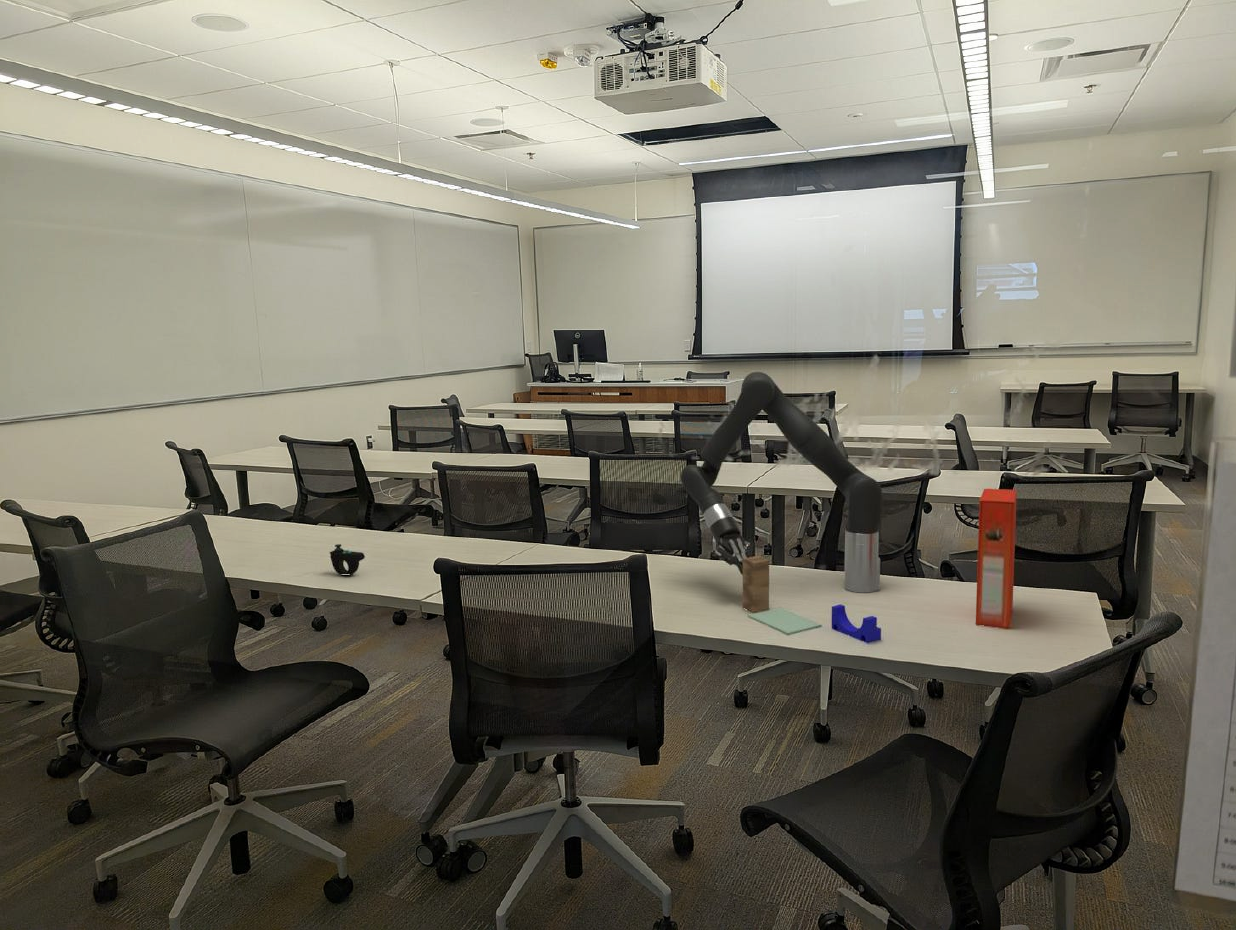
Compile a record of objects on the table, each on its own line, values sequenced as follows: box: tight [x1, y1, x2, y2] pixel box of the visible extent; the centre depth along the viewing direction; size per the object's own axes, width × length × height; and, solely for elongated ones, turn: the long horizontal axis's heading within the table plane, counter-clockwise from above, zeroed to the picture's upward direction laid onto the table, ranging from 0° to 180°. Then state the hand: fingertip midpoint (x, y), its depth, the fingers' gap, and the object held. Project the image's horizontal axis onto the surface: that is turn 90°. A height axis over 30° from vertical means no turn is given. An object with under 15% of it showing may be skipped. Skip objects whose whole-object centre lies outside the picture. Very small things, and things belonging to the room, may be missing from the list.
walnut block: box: [742, 555, 770, 614], centre depth 217 cm, size 5×5×14 cm
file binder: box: [975, 488, 1018, 630], centre depth 205 cm, size 8×17×32 cm, turn 152°
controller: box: [329, 543, 366, 575], centre depth 261 cm, size 4×12×10 cm, turn 67°
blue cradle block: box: [831, 604, 882, 644], centre depth 197 cm, size 12×4×6 cm, turn 29°
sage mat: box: [747, 607, 823, 636], centre depth 208 cm, size 16×11×1 cm
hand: (748, 574), depth 220 cm, fingers closed
